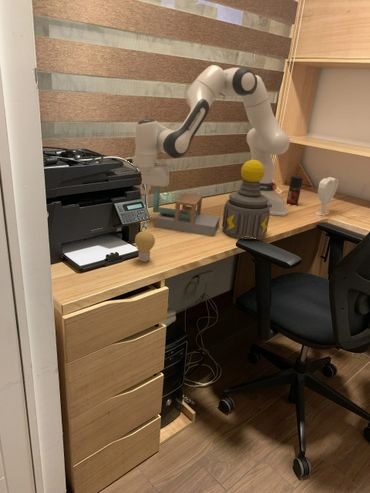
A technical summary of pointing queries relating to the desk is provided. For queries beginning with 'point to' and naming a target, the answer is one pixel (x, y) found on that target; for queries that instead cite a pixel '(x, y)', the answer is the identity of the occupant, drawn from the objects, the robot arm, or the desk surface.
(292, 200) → the deodorant
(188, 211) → the maple block
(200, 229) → the tunnel deck
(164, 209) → the sled
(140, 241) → the light bulb
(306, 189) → the desk surface
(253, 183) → the toy power generator
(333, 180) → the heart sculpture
